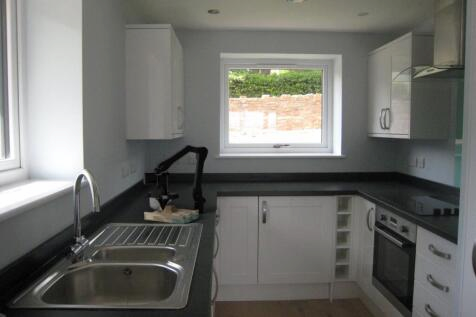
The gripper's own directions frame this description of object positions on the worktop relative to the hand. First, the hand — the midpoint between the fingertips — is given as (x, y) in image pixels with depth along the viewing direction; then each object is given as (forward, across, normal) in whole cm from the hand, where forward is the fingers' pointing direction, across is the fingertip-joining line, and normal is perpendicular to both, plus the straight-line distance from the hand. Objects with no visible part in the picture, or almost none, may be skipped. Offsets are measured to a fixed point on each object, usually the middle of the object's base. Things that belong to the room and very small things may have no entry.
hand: (163, 210), depth 215 cm
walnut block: (+1, +5, 0) cm, 5 cm away
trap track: (+3, +8, -3) cm, 9 cm away
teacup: (+4, -14, +16) cm, 22 cm away
